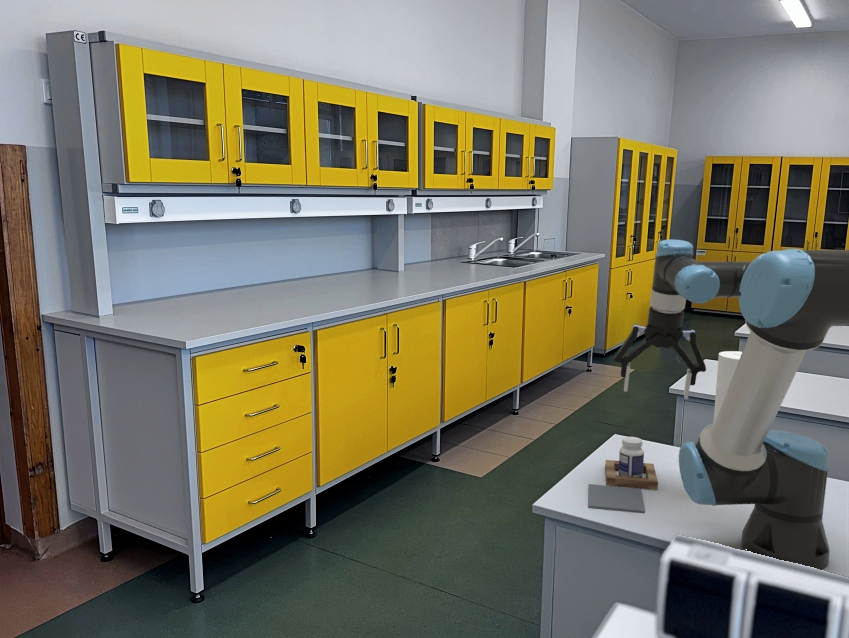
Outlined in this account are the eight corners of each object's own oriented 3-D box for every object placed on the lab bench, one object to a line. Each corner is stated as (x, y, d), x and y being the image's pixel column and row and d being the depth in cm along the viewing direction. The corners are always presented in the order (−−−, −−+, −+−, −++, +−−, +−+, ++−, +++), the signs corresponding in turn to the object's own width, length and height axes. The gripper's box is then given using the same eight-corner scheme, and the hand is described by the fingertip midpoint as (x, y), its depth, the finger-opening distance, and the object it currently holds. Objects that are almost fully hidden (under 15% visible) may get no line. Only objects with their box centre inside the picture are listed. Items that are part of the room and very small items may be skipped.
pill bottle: (642, 475, 172) (644, 436, 170) (642, 484, 166) (645, 444, 164) (618, 472, 173) (620, 434, 171) (618, 481, 168) (620, 442, 166)
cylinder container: (757, 476, 171) (768, 357, 166) (718, 476, 171) (728, 357, 166) (740, 462, 180) (750, 349, 175) (704, 461, 180) (713, 349, 175)
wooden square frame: (657, 490, 163) (658, 482, 162) (606, 485, 165) (606, 477, 165) (653, 471, 174) (653, 463, 173) (605, 467, 176) (605, 459, 176)
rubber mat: (645, 513, 151) (645, 511, 151) (588, 507, 154) (588, 505, 153) (640, 490, 162) (641, 488, 162) (588, 485, 165) (588, 483, 165)
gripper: (723, 308, 157) (709, 393, 165) (610, 298, 164) (601, 380, 171) (727, 319, 151) (713, 406, 158) (609, 307, 157) (600, 392, 164)
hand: (655, 393), depth 164 cm, fingers open, 13 cm apart
